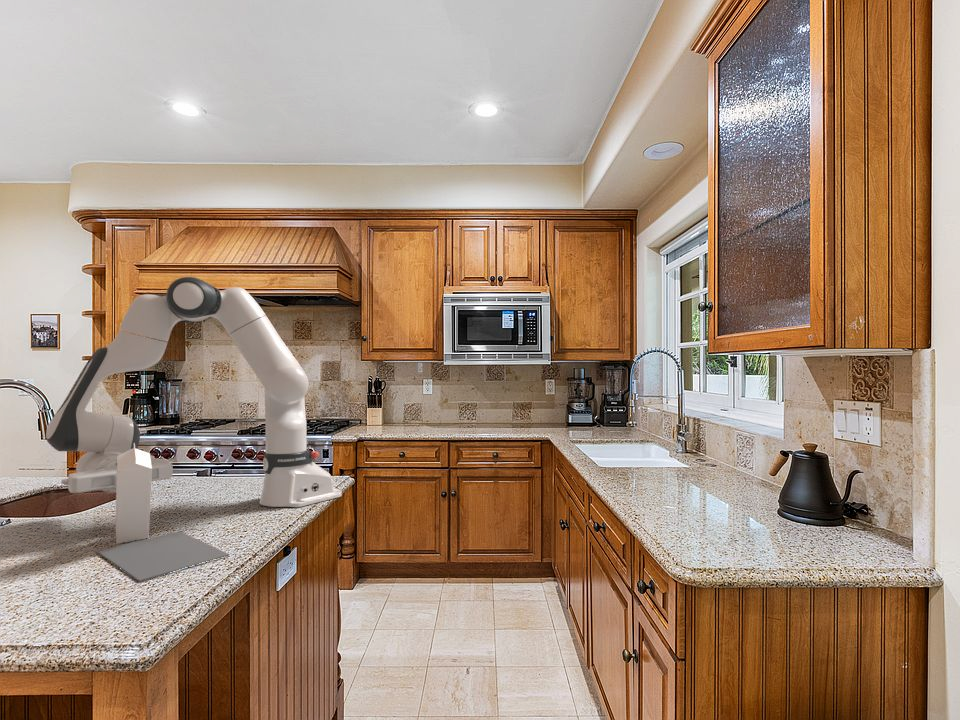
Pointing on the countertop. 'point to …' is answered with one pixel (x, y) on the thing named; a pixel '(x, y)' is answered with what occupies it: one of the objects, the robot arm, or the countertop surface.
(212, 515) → the countertop surface
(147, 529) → the milk
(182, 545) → the mat
